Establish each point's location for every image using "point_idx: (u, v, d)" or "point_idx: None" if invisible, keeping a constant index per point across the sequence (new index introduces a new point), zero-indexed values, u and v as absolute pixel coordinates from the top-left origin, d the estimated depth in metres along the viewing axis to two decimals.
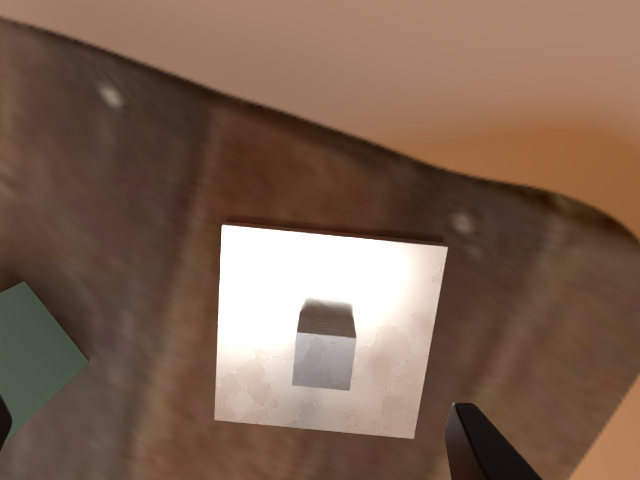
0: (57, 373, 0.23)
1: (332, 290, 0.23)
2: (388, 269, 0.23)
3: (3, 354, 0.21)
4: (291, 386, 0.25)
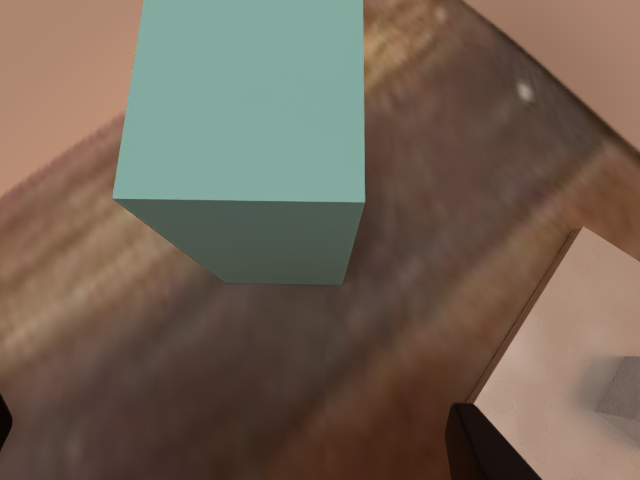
0: None
1: None
2: None
3: None
4: (574, 444, 0.19)
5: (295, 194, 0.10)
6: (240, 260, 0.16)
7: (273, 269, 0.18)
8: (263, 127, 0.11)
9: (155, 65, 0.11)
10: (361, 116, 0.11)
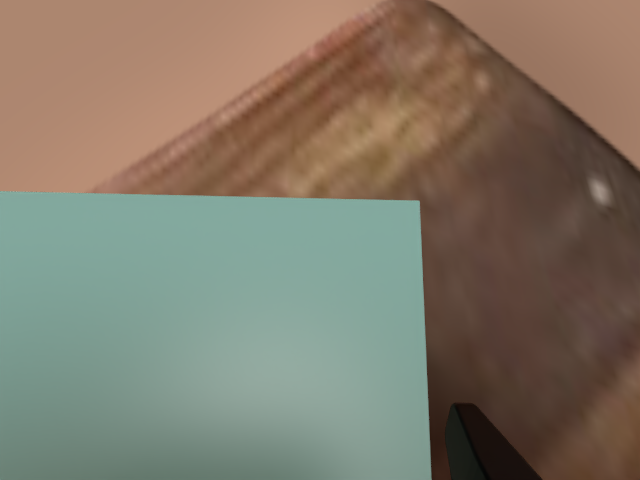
0: None
1: None
2: None
3: None
4: None
5: None
6: None
7: None
8: None
9: None
10: None
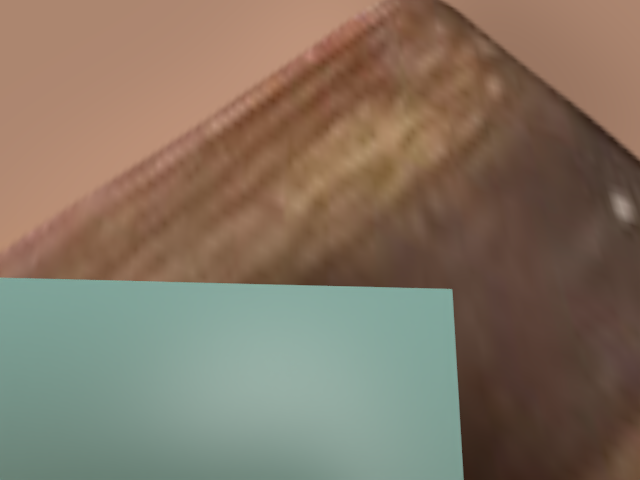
0: None
1: None
2: None
3: None
4: None
5: None
6: None
7: None
8: None
9: None
10: None
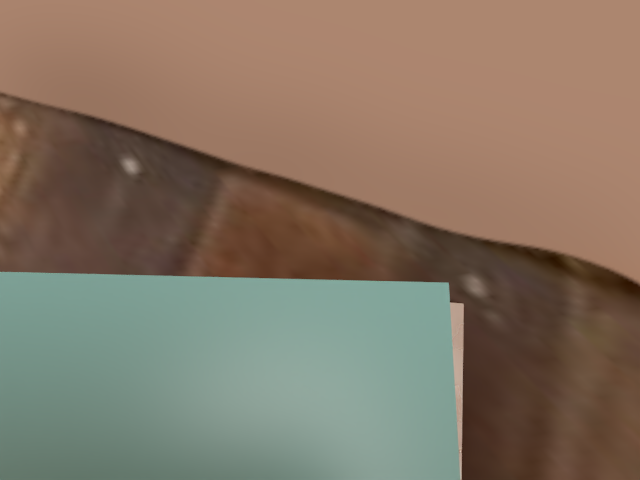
0: None
1: None
2: None
3: None
4: None
5: None
6: None
7: None
8: None
9: None
10: None
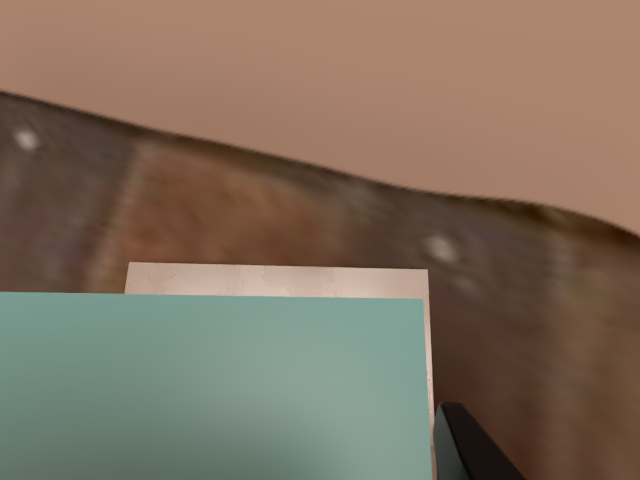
0: None
1: None
2: None
3: None
4: None
5: None
6: None
7: None
8: None
9: None
10: None
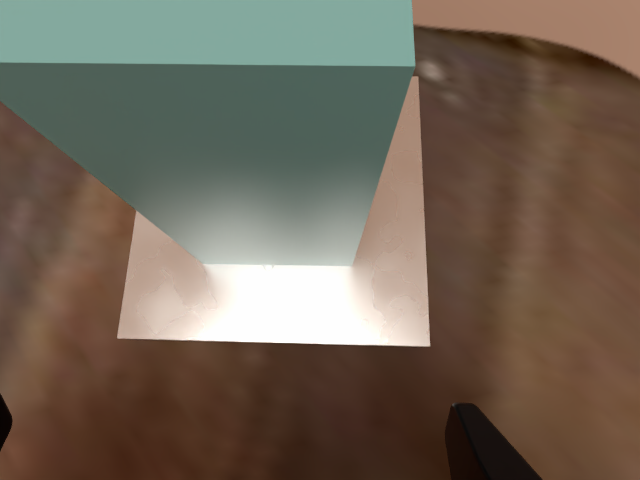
0: None
1: None
2: None
3: None
4: (237, 270, 0.17)
5: (286, 54, 0.05)
6: (215, 222, 0.12)
7: (262, 239, 0.13)
8: None
9: None
10: None
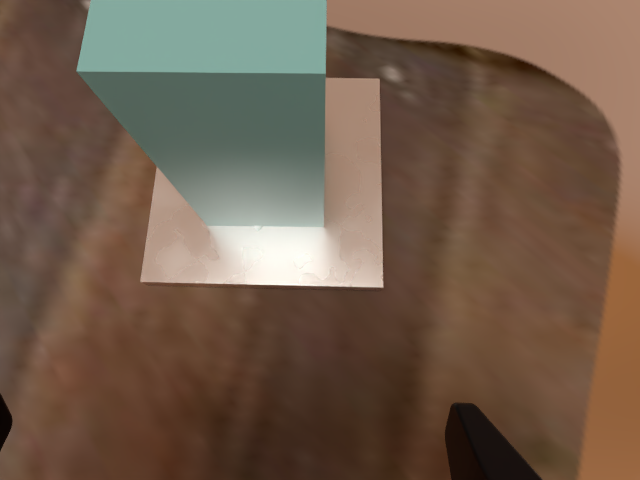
0: None
1: None
2: (327, 102, 0.24)
3: None
4: (233, 230, 0.22)
5: (257, 67, 0.10)
6: (217, 183, 0.17)
7: (251, 198, 0.18)
8: (227, 6, 0.11)
9: None
10: None
